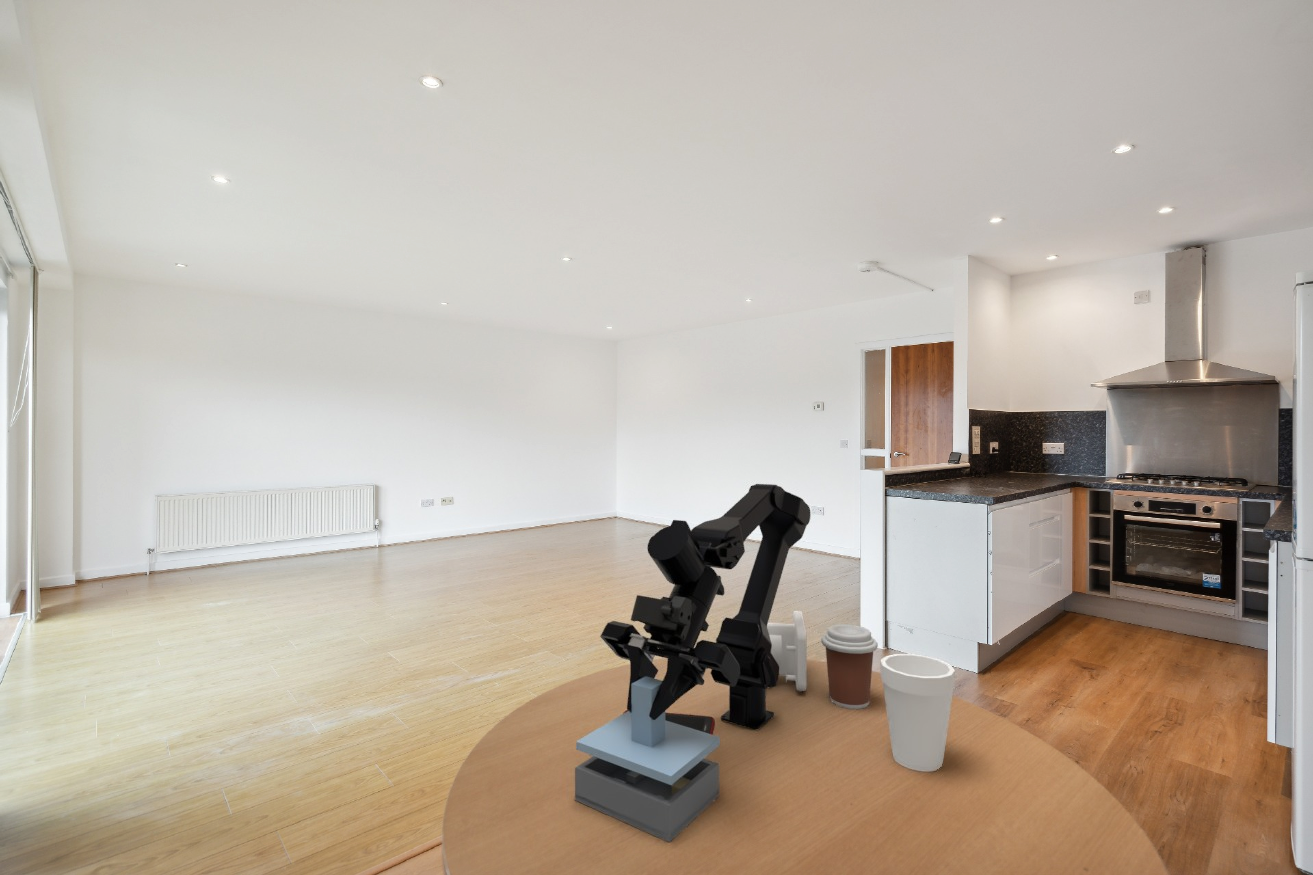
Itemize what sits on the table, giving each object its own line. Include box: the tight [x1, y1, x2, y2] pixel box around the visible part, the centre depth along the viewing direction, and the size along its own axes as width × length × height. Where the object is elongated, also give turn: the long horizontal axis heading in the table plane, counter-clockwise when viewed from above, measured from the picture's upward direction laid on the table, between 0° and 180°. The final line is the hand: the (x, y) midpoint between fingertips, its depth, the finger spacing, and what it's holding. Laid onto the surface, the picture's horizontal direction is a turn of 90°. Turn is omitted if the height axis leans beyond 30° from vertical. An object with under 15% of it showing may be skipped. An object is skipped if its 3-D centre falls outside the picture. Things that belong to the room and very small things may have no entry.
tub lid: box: [575, 676, 721, 785], centre depth 77 cm, size 11×14×8 cm
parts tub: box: [574, 756, 720, 843], centre depth 77 cm, size 11×14×4 cm
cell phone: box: [622, 709, 716, 735], centre depth 96 cm, size 8×15×1 cm, turn 79°
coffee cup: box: [821, 623, 879, 710], centre depth 106 cm, size 9×9×12 cm
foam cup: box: [880, 653, 956, 773], centre depth 86 cm, size 10×9×13 cm
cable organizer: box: [767, 610, 808, 692], centre depth 115 cm, size 15×11×12 cm
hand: (640, 714), depth 76 cm, fingers closed on tub lid, 3 cm apart
